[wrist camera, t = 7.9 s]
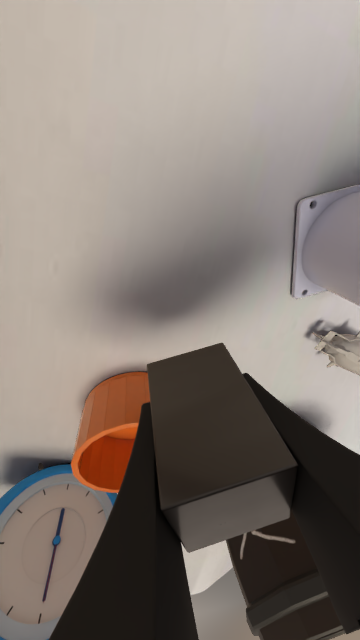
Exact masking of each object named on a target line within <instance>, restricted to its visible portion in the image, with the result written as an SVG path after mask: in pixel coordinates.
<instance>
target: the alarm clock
mask: <svg viewBox="0 0 360 640" xmlns="http://www.w3.org/2000/svg"><path fill="white" fill-rule="evenodd" d="M116 497H117V493H109V492H103V491H98V490H94V489H91V488H89V487H87V486H85V485H83V484H81V483H80V482H79V481H78V480H77V479H76V478H75V477H74V475H73V472H72V468H71V464H65V465H57V466H52V467H48V468H45V469H44V468H43V466H42V463H39V471H38V472H36V473H34V474H32V475H30V476H28V477H26V478H25V479H23V480H22V481H20V482H19V483H17V484H16V485H15V486H14V487H12V488H11V489H10V490H9V491H8V492H7V493H6V494H4V495H3V496H2V497H1V498H0V640H49V638H50V636H51V634H52V632H53V630H54V629H55V627H56V625H57V623H58V621H59V619H60V617H61V615H62V613H63V611H64V610H65V608H66V606H67V604H68V602H69V600H70V598H71V596H72V594H73V593H74V591H75V589H76V587H77V585H78V583H79V581H80V579H81V576H82V574H83V572H84V570H85V568H86V566H87V564H88V562H89V560H90V558H91V556H92V553H93V551H94V549H95V547H96V545H97V543H98V541H99V538H100V536H101V534H102V532H103V529H104V527H105V524H106V522H107V520H108V517H109V515H110V512H111V510H112V508H113V505H114V502H115V500H116Z"/></svg>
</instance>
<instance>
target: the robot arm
mask: <svg viewBox="0 0 360 640" xmlns="http://www.w3.org/2000/svg"><path fill="white" fill-rule="evenodd" d="M312 201H313V205H312V207H311V208H310V203H311V202H312ZM328 290H329V291H331V292H333V293H335V294H337V295H339V296H341V297H343V298H345V299H347V300H349V301H351V302H353V303H355V304H357V305H359V306H360V184H358V185H354V186H350V187H346V188H342V189H338V190H335V191H331V192H327V193H323V194H319V195H315V196H312V197H308V198H304V199H302V200H301V201H300V202H299V203H298V206H297V217H296V233H295V249H294V264H293V280H292V297H294V298H295V299H300V298H303V297H307V296H310V295H314V294H317V293H321V292H324V291H328ZM303 291H304V292H303ZM302 292H303V293H302ZM243 376H244V378H245V379H246V381H247V383H248V384H249V386H250V387H251V389H252V391H253V392H254V394H255V396H256V397H257V399H258V400H259V402H260V404H261V405H262V407H263V409H264V410H265V412H266V413H267V415H268V417H269V418H270V420H271V422H272V423H273V425H274V426H275V428H276V430H277V431H278V433H279V435H280V436H281V438H282V439H283V441H284V443H285V444H286V446H287V448H288V449H289V451H290V452H291V454H292V456H293V457H294V459H295V460H296V462H297V465H298V468H297V475H296V481H295V487H294V494H293V500H292V507H291V510H292V513H293V515H294V517H295V519H296V521H297V524H298V526H299V528H300V530H301V533H302V535H303V537H304V539H305V542H306V544H307V546H308V549H309V551H310V553H311V555H312V558H313V560H314V562H315V565H316V567H317V569H318V572H319V574H320V576H321V579H322V581H323V584H324V586H325V588H326V591H327V593H328V595H329V598H330V600H331V603H332V605H333V608H334V610H335V612H336V614H337V617H338V619H339V621H340V623H341V625H342V627H343V629H344V631H345V633H346V634H349V633H351V632H354V631H356V630H359V629H360V455H359V454H357V453H355V452H353V451H352V450H350V449H348V448H346V447H345V446H343V445H341V444H340V443H338V442H337V441H335V440H333V439H332V438H330V437H329V436H327V435H325V434H324V433H322V432H321V431H319V430H318V429H316V428H315V427H313V426H312V425H310V424H309V423H308V422H306V421H305V420H303V419H302V418H301V417H299V416H298V415H296V414H295V413H294V412H292V411H291V410H290V409H289V408H287V407H286V406H285V405H283V404H282V403H281V402H280V401H278V400H277V399H276V398H275V397H274V396H272V395H271V394H270V393H269V392H268V391H267V390H265V389H264V388H263V387H262V386H261V385H260V384H259V383H257V382H256V381H255V380H254V379H253V378H252V377H251V376H250V375H249V374H248V373H244V374H243ZM49 640H199V639H198V634H197V629H196V623H195V619H194V613H193V608H192V602H191V597H190V591H189V586H188V580H187V575H186V569H185V564H184V558H183V552H182V546H181V541H180V540H179V538H178V536H177V535H176V533H175V532H174V530H173V528H172V527H171V525H170V524H169V522H168V521H167V519H166V517H165V516H164V514H163V513H162V511H161V509H160V500H159V489H158V478H157V468H156V457H155V447H154V436H153V426H152V415H151V404H150V402H147V403H144V404H143V405H142V406H141V413H140V419H139V424H138V428H137V433H136V437H135V441H134V444H133V448H132V452H131V455H130V459H129V462H128V465H127V468H126V471H125V475H124V478H123V481H122V483H121V486H120V489H119V492H118V495H117V497H116V500H115V502H114V505H113V508H112V510H111V512H110V515H109V517H108V520H107V522H106V524H105V527H104V529H103V532H102V534H101V536H100V538H99V541H98V543H97V545H96V547H95V549H94V551H93V553H92V556H91V558H90V560H89V562H88V564H87V566H86V568H85V570H84V572H83V574H82V576H81V579H80V581H79V583H78V585H77V587H76V589H75V591H74V593H73V594H72V596H71V598H70V600H69V602H68V604H67V606H66V608H65V610H64V611H63V613H62V615H61V617H60V619H59V621H58V623H57V625H56V627H55V629H54V630H53V632H52V634H51V636H50V638H49Z"/></svg>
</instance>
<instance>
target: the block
mask: <svg viewBox="0 0 360 640" xmlns="http://www.w3.org/2000/svg"><path fill="white" fill-rule="evenodd" d="M147 373H148V383H149V394H150V404H151V415H152V426H153V436H154V447H155V457H156V468H157V478H158V489H159V500H160V509H161V511H162V513H163V514H164V516H165V517H166V519H167V521H168V522H169V524H170V525H171V527H172V528H173V530H174V532H175V533H176V535H177V536H178V538H179V540H180V541H181V543H182V544H183V546H184V548H185V549H186V551H187V552H192V551H195V550H198V549H201V548H204V547H207V546H210V545H213V544H215V543H218V542H221V541H224V540H227V539H230V538H233V537H236V536H239V535H241V534H244V533H247V532H250V531H253V530H256V529H259V528H262V527H265V526H268V525H270V524H273V523H276V522H279V521H282V520H285V519H288V518H289V517H290V513H291V507H292V500H293V494H294V487H295V481H296V475H297V468H298V465H297V462H296V460H295V459H294V457H293V456H292V454H291V452H290V451H289V449H288V448H287V446H286V444H285V443H284V441H283V439H282V438H281V436H280V435H279V433H278V431H277V430H276V428H275V426H274V425H273V423H272V422H271V420H270V418H269V417H268V415H267V413H266V412H265V410H264V409H263V407H262V405H261V404H260V402H259V400H258V399H257V397H256V396H255V394H254V392H253V391H252V389H251V387H250V386H249V384H248V383H247V381H246V379H245V378H244V376H243V374H242V373H241V371H240V370H239V368H238V366H237V365H236V363H235V362H234V360H233V358H232V357H231V355H230V353H229V352H228V350H227V349H226V347H225V345H224V344H223V343H219V344H215V345H212V346H209V347H205V348H202V349H198V350H195V351H191V352H188V353H184V354H181V355H177V356H174V357H170V358H167V359H163V360H160V361H157V362H153V363H150V364H147Z"/></svg>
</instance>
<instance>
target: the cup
mask: <svg viewBox="0 0 360 640" xmlns="http://www.w3.org/2000/svg"><path fill="white" fill-rule="evenodd" d="M147 402H150V394H149V383H148V373H147V372H130V373H124V374H120V375H116V376H114V377H111V378H109V379H107V380H105V381H103V382H102V383H100V384H99V385H97V386H96V387H95V388H94V389H93V390H92V391H91V392H90V394H89V395H88V397H87V399H86V401H85V404H84V408H83V411H82V416H81V420H80V425H79V429H78V434H77V438H76V443H75V447H74V451H73V456H72V460H71V468H72V472H73V475H74V477H75V478H76V479H77V480H78V481H79V482H80V483H81V484H83V485H85V486H87V487H89V488H91V489H94V490H98V491H103V492H109V493H118V492H119V489H120V486H121V483H122V481H123V478H124V475H125V471H126V468H127V465H128V462H129V459H130V455H131V452H132V448H133V444H134V441H135V437H136V433H137V428H138V424H139V419H140V413H141V406H142V405H143V404H144V403H147Z"/></svg>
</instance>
